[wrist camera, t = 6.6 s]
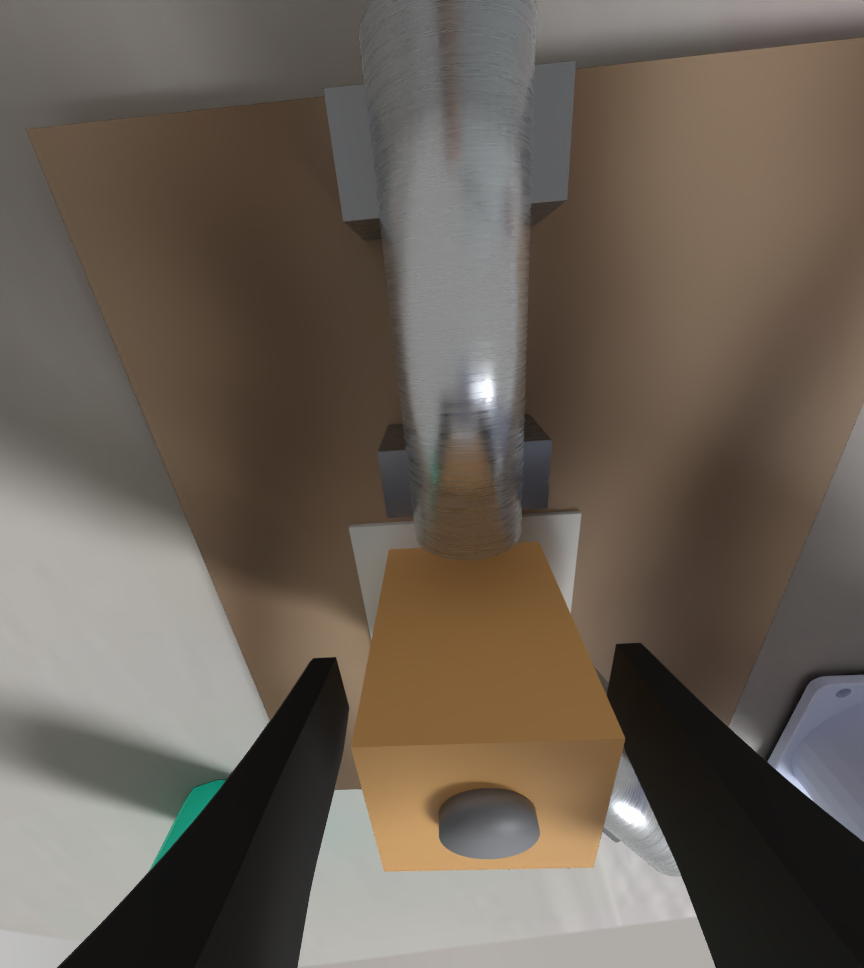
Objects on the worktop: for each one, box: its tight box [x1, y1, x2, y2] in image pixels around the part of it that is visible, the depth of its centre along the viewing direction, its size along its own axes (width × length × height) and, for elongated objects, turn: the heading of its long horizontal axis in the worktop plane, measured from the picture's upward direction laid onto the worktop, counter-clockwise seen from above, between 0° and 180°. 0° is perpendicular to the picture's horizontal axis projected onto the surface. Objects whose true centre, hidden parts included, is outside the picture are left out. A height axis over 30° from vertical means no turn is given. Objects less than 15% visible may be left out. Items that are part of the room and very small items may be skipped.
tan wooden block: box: [351, 542, 625, 872], centre depth 9 cm, size 4×4×6 cm
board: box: [26, 37, 864, 790], centre depth 12 cm, size 18×23×1 cm
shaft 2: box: [594, 667, 681, 876], centre depth 13 cm, size 8×4×3 cm, turn 39°
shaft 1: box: [323, 0, 576, 561], centre depth 7 cm, size 8×4×3 cm, turn 4°
